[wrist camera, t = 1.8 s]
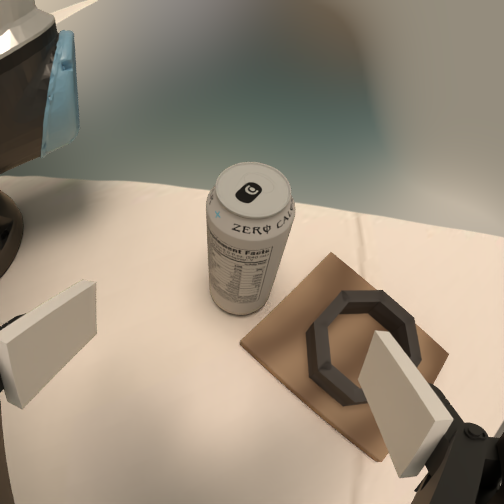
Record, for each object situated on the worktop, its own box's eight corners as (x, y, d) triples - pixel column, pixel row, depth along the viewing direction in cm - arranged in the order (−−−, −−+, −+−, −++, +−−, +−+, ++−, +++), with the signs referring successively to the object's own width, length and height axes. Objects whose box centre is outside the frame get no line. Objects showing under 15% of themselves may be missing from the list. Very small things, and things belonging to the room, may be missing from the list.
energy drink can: (280, 286, 34) (316, 184, 21) (245, 330, 31) (265, 243, 18) (234, 254, 35) (244, 144, 22) (197, 294, 32) (185, 191, 20)
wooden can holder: (239, 344, 30) (242, 330, 26) (327, 257, 36) (339, 236, 32) (376, 461, 24) (397, 462, 21) (443, 357, 30) (465, 345, 27)
